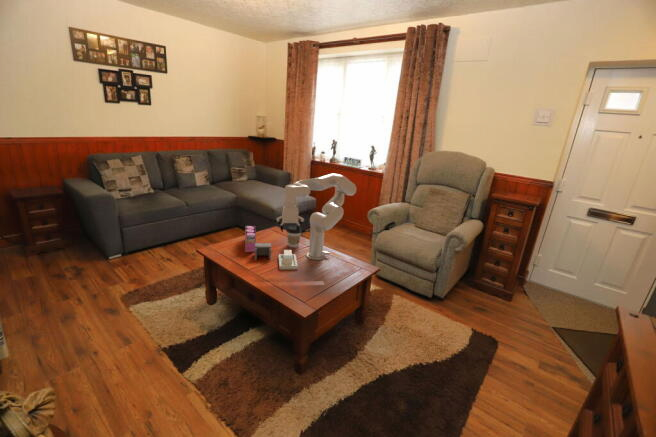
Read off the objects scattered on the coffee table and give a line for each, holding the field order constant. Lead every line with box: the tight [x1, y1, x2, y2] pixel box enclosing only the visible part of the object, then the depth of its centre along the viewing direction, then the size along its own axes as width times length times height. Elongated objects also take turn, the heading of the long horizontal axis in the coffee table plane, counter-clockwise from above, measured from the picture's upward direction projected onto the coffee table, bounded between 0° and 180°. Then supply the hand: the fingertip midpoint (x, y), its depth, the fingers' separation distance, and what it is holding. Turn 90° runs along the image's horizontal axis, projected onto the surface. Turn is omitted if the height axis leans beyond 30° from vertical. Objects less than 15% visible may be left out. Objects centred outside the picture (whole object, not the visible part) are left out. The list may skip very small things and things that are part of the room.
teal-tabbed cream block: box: [283, 249, 293, 265], centre depth 204 cm, size 5×13×6 cm, turn 9°
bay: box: [254, 242, 272, 261], centre depth 210 cm, size 10×9×8 cm
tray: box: [278, 253, 299, 271], centre depth 205 cm, size 11×18×2 cm, turn 11°
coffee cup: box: [286, 225, 303, 249], centre depth 231 cm, size 11×11×15 cm
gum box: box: [244, 225, 257, 253], centre depth 226 cm, size 22×7×13 cm, turn 14°
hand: (289, 231), depth 199 cm, fingers open, 9 cm apart
